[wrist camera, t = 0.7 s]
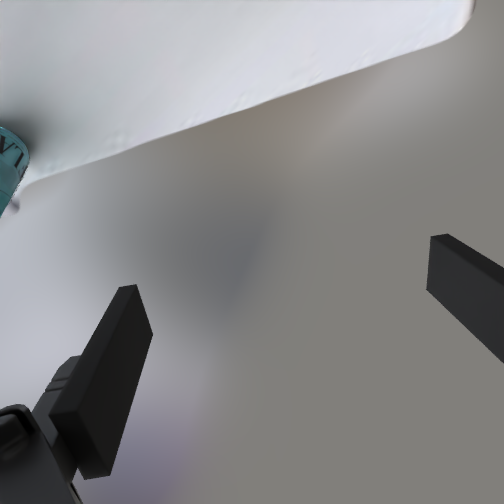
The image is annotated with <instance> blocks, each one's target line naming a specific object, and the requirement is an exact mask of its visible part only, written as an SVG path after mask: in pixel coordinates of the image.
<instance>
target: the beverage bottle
mask: <svg viewBox="0 0 504 504" xmlns="http://www.w3.org/2000/svg"><path fill="white" fill-rule="evenodd" d="M29 158H30V157H29V154H28V150H27V148H26V146H25V144H24V143H23V142H22V141H21V139H20V138H18V137H17V136H16V135H15V134H14V133H12V132H11V131H9V130H7V129H5V128H3V127H0V217H1V215H2V213H3V212H4V210H5V208H6V206H7V205H8V203H9V201H10V199H11V198H12V195H13V193H15V192H14V191H15V189H16V187H17V186H18V184H19V182H21V181H22V180H21V179H22V177H23V178H24V176H23V175H24V173H25V171H26V169H27V168H28V163H29ZM25 174H26V173H25ZM18 187H19V186H18ZM18 187H17V188H18ZM16 191H17V190H16ZM14 196H15V194H14ZM11 201H12V200H11Z"/></svg>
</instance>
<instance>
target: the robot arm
mask: <svg viewBox="0 0 504 504" xmlns="http://www.w3.org/2000/svg"><path fill="white" fill-rule="evenodd" d="M426 290H427V291H429V293H431V294H432V295H433V296H434V297H435V298H436V299H437V300H438V301H439V302H440V303H441V304H442V305H443V306H444V307H445V308H446V309H447V310H448V311H449V312H450V313H451V314H452V315H454V316H455V317H456V318H457V319H458V320H459V321H460V322H461V323H462V324H463V325H464V326H465V327H466V328H467V329H468V330H469V331H470V332H471V333H472V334H473V335H474V336H475V337H476V338H478V339H479V340H480V341H481V342H482V343H483V344H484V345H485V346H486V347H487V348H488V349H489V350H490V351H491V352H492V353H493V354H494V355H495V356H496V357H497V358H499V359H500V361H502V362H503V363H504V268H503V267H501V266H500V265H498V264H497V263H495V262H493V261H492V260H490V259H488V258H487V257H485V256H483V255H481V254H480V253H479V252H477V251H475V250H474V249H472V248H471V247H469V246H467V245H465V244H464V243H462V242H461V241H459V240H457V239H456V238H454V237H453V236H451V235H449V234H443V235H436V236H431V240H430V253H429V265H428V278H427V289H426ZM152 336H153V333H152V330H151V327H150V324H149V320H148V318H147V314H146V312H145V308H144V306H143V303H142V299H141V296H140V293H139V290H138V287H137V285H136V284H135V285H129V286H123V287H119V288H118V290H117V292H116V294H115V296H114V297H113V299H112V301H111V303H110V305H109V306H108V308H107V310H106V312H105V314H104V315H103V317H102V319H101V321H100V322H99V324H98V326H97V328H96V330H95V331H94V333H93V335H92V337H91V339H90V340H89V342H88V344H87V346H86V348H85V349H84V351H83V353H82V355H80V356H73V357H70V358H69V359H68V360H67V361H66V362H65V363H64V364H62V365H61V366H60V367H59V368H58V370H57V372H56V374H55V375H54V377H53V378H52V381H51V382H50V383H49V385H48V386H47V388H46V389H45V392H44V393H43V394H42V396H41V398H40V399H39V401H38V402H37V404H36V406H35V407H34V409H33V411H32V412H30V410H29V408H27V407H26V406H25V405H21V404H16V405H11V406H7V407H5V408H3V409H1V410H0V504H83V502H82V500H81V498H80V496H79V494H78V492H77V490H76V488H75V486H74V484H73V483H72V480H73V478H74V475H75V473H76V470H77V468H78V469H79V471H80V473H81V475H82V476H83V478H84V480H87V479H93V478H99V477H105V476H110V474H111V471H112V467H113V464H114V461H115V458H116V455H117V451H118V448H119V445H120V441H121V438H122V434H123V431H124V428H125V425H126V422H127V418H128V415H129V412H130V408H131V405H132V402H133V399H134V395H135V392H136V389H137V385H138V382H139V379H140V376H141V372H142V369H143V366H144V362H145V359H146V356H147V352H148V349H149V346H150V343H151V340H152Z"/></svg>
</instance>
